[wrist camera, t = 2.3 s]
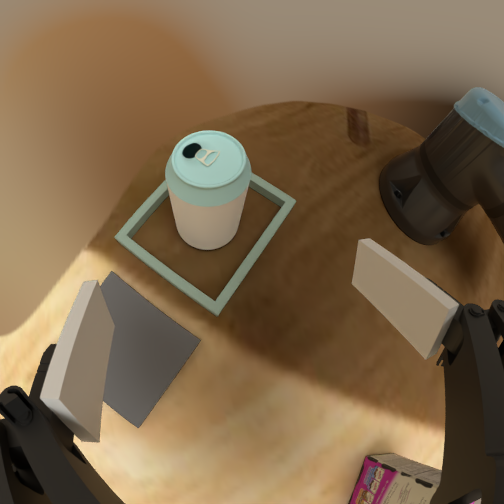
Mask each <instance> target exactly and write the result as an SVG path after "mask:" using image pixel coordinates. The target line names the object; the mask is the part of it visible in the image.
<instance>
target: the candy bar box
mask: <svg viewBox="0 0 504 504" xmlns="http://www.w3.org/2000/svg"><path fill="white" fill-rule="evenodd" d="M441 473H442V470H438V469H435V468H433V467H430V466H427V465H424V464H421V463H418V462H415V461H413V460H410V459H407V458H405V457H402V456H399V455H397V454H394V453H389V454H383V455H372V456H366V458H365V461H364V464H363V467H362V470H361V473H360V476H359V478H358V481H357V484H356V487H355V489H354V492H353V495H352V497H351V500H350V502H349V504H429V503H430V500H431V498H432V496H433V494H434V493H435V492H436V490H437V489H438V487H439V485H440V480H441ZM474 502H475V501H474ZM474 502H472V503H470V504H474Z"/></svg>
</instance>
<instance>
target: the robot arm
mask: <svg viewBox="0 0 504 504" xmlns="http://www.w3.org/2000/svg"><path fill="white" fill-rule="evenodd" d="M454 107H455V108H454V109H453V110H452V111H451V112H450V113H449V115H448V116H447V117H446V118H445V119H444V120H443V121H442V122H441V123H440V124H439V125H438V127H437V128H436V129H435V130H434V131H433V132H432V133H431V134H430V135H429V136H428V137H427V139H426V140H425V141H424V142H423V143H422V144H421V145H420V146H418V147H416V148H414V149H412V150H410V151H408V152H405V153H403V154H401V155H399V156H397V157H395V158H393V159H392V160H391V161H390V162H389V163H388V164H387V165H386V166H385V167H384V169H383V170H382V172H381V175H380V191H381V195H382V199H383V201H384V204H385V206H386V208H387V210H388V212H389V214H390V215H391V217H392V219H393V220H394V221H395V223H396V224H397V225H398V226H399V228H400V229H401V230H402V231H403V232H404V233H405V234H407V235H408V236H409V237H410V238H412V239H413V240H415V241H417V242H419V243H422V244H425V245H434V244H437V243H438V242H440V241H442V240H444V239H445V238H447V237H448V236H449V235H450V234H451V232H452V231H453V230H454V228H455V227H456V226H457V224H458V223H459V221H460V220H461V219H462V217H463V216H464V214H465V213H466V212H467V211H468V210H469V209H471V208H472V207H474V206H475V205H477V204H480V205H481V207H482V208H483V209H484V211H485V213H486V214H487V216H488V217H489V219H490V221H491V222H492V224H493V226H494V227H495V229H496V231H497V233H498V234H499V236H500V238H501V240H502V242H503V243H504V102H503V101H502V100H500V99H499V98H498V97H497V96H495V95H494V94H493V93H491V92H490V91H488V90H486V89H483V88H479V87H476V88H473V89H471V90H470V91H469V92H468V93H467V94H466V95H465V96H464V97H463V98H462V99H461V100H460V101H458V102H456V103H455V105H454ZM352 285H354V286H355V287H356V288H357V289H358V290H359V291H360V292H361V293H362V294H363V295H364V296H365V297H366V298H367V299H368V300H369V301H370V302H371V303H372V304H373V305H374V306H375V307H376V308H377V309H378V310H379V311H380V312H381V313H382V314H383V315H384V316H385V317H386V318H387V319H388V320H389V321H390V323H391V324H392V325H393V326H394V327H395V328H396V329H397V330H398V331H399V332H400V333H401V334H402V335H403V336H404V337H405V338H406V339H407V340H408V341H409V342H410V343H411V344H412V346H413V347H414V348H415V349H416V350H417V351H418V352H419V353H420V354H421V355H422V356H423V357H424V358H425V360H426V359H428V358H429V357H431V356H433V355H434V354H436V353H437V351H438V349H439V347H440V345H441V343H442V344H443V345H444V346H445V348H444V350H443V352H442V354H441V355H440V357H439V359H438V361H437V364H436V365H437V366H438V365H439V363H440V362H441V360H443V363H442V365H441V366H444V377H445V401H446V419H445V443H444V455H443V465H442V473H441V480H440V485H439V487H438V489H437V490H436V492H435V493H434V494H433V496H432V498H431V500H430V503H429V504H470V503H472V502H474V501H476V500H478V499H480V498H482V499H481V504H504V340H503V341H502V343H501V345H500V346H499V348H498V347H497V344H496V343H497V341H498V340H499V338H500V336H501V335H502V337H503V339H504V301H502V300H494V301H493V302H492V304H491V307H490V309H488V310H483V309H482V308H481V307H480V306H478V305H475V304H466V305H465V306H463V305H462V304H461V303H460V302H458V301H457V300H456V299H455V298H453V297H452V296H451V295H450V294H448V293H447V292H446V291H443V289H442V288H441V287H439V286H437V284H435V283H434V282H433V281H431V280H430V279H428V278H426V277H424V276H422V275H421V274H420V273H418V272H417V271H415V270H414V269H413V268H411V267H410V266H409V265H407V264H406V263H404V262H403V261H402V260H400V259H399V258H397V257H396V256H395V255H393V254H392V253H390V252H389V251H387V250H386V249H385V248H383V247H382V246H380V245H379V244H377V243H376V242H374V241H373V240H371V239H370V238H368V239H361V240H358V247H357V254H356V261H355V267H354V273H353V279H352ZM114 327H115V325H114V323H113V320H112V318H111V315H110V313H109V310H108V308H107V305H106V302H105V299H104V297H103V294H102V291H101V288H100V285H99V282H98V280H92V281H85V282H83V284H82V286H81V288H80V290H79V293H78V295H77V297H76V299H75V301H74V303H73V306H72V308H71V310H70V313H69V315H68V317H67V320H66V322H65V325H64V327H63V330H62V332H61V335H60V337H59V340H58V342H57V344H50V346H49V347H48V348H47V349H46V351H45V352H44V353H43V356H42V358H41V361H40V365H39V367H38V370H37V373H36V375H35V378H34V382H33V385H32V388H31V391H30V394H29V397H28V395H27V394H26V393H25V392H24V391H23V389H22V388H20V387H18V386H10V387H8V388H6V389H5V390H4V391H2V392H1V394H0V414H1V415H2V416H3V417H4V418H5V419H0V504H125V503H124V502H123V501H122V500H121V499H120V498H119V497H118V496H117V495H116V494H115V493H114V492H113V491H112V490H111V488H110V487H109V486H108V485H107V484H106V483H105V482H104V480H103V479H102V478H101V477H100V476H99V474H98V473H97V472H96V471H95V469H94V468H93V467H92V466H91V464H90V463H89V462H88V460H87V459H86V458H85V456H84V455H83V454H82V452H81V451H80V449H79V448H78V447H77V445H76V444H75V443H74V442H73V438H74V435H76V436H77V437H78V438H79V439H80V440H81V441H84V442H100V427H101V414H102V404H103V395H104V387H105V379H106V372H107V366H108V360H109V354H110V348H111V342H112V337H113V332H114Z"/></svg>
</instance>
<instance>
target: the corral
mask: <svg viewBox="0 0 504 504" xmlns="http://www.w3.org/2000/svg"><path fill="white" fill-rule="evenodd" d="M249 187H250V188H252V189H254V190H255V191H257V192H258V193H260V194H261V195H263V196H265V197H266V198H268V199H269V200H271V201H272V202H274V203H276V204H277V205H279V206H280V207H282V208H281V209H280V210H279V212H278V213H277V215H276V216H275V217H274V219H273V220H272V222H271V223H270V224H269V226H268V227H267V229H266V230H265V232H264V233H263V234H262V236H261V237H260V239H259V240H258V241H257V243H256V244H255V246H254V247H253V248H252V250H251V251H250V253H249V254H248V256H247V257H246V258H245V260H244V261H243V263H242V264H241V265H240V267H239V268H238V270H237V271H236V272H235V274H234V275H233V277H232V278H231V280H230V281H229V282H228V284H227V285H226V287H225V288H224V289H223V291H222V292H221V294H220V295H219V297H218V298H217V299H216V301H214V300H212V299H211V298H210V297H208V296H207V295H205V294H204V293H202V292H201V291H200V290H198V289H197V288H195V287H194V286H193V285H191V284H190V283H188V282H187V281H186V280H184V279H183V278H182V277H180V276H179V275H177V274H176V273H175V272H173V271H172V270H171V269H169V268H168V267H167V266H165V265H164V264H163V263H161V262H160V261H159V260H157V259H156V258H155V257H153V256H152V255H151V254H149V253H148V252H147V251H146V250H144V249H143V248H142V247H140V246H139V245H138V244H137V243H135V242H134V241H133V240H132V239H131V238H132V237H133V236H134V234H135V233H136V232H137V231H138V230H139V228H140V227H141V226H142V225H143V224H144V223H145V221H146V220H147V219H148V218H149V217H150V216H151V214H152V213H153V212H154V211H155V210H156V209H157V208H158V207H159V205H160V204H161V203H162V202H163V201H164V200H165V199H166V198H167V197H168V196H169V191H168V186H167V182H166V180H165V181H164V182H163V183H162V184H161V185H160V186H159V187H158V188H157V189H156V190H155V191H154V193H153V194H152V195H151V196H150V197H149V198H148V199H147V200H146V201H145V202H144V203H143V205H142V206H141V207H140V208H139V209H138V210H137V211H136V212H135V214H134V215H133V216H132V217H131V218H130V219H129V220H128V222H127V223H126V224H125V225H124V226H123V227H122V229H121V230H120V231H119V232H118V233H117V235H116V236H115V239H116V240H117V241H118V242H119V243H120V244H121V245H122V246H123V247H125V248H126V249H127V250H128V251H130V252H131V253H132V254H133V255H135V256H136V257H137V258H138V259H140V260H141V261H142V262H143V263H145V264H146V265H147V266H148V267H150V268H151V269H152V270H154V271H155V272H156V273H158V274H159V275H160V276H161V277H163V278H164V279H165V280H167V281H168V282H169V283H171V284H172V285H173V286H175V287H176V288H177V289H179V290H180V291H182V292H183V293H184V294H186V295H187V296H188V297H190V298H191V299H193V300H194V301H195V302H197V303H198V304H200V305H201V306H202V307H204V308H205V309H207V310H208V311H210V312H211V313H212V314H214V315H215V316H217V317H218V315H219V314H220V312H221V311H222V309H223V308H224V307H225V305H226V304H227V302H228V301H229V299H230V298H231V297H232V295H233V294H234V292H235V291H236V289H237V288H238V286H239V285H240V284H241V282H242V281H243V279H244V278H245V276H246V275H247V273H248V272H249V270H250V269H251V268H252V266H253V265H254V263H255V262H256V260H257V259H258V257H259V256H260V255H261V253H262V252H263V250H264V249H265V247H266V246H267V244H268V243H269V241H270V240H271V238H272V237H273V236H274V234H275V233H276V231H277V230H278V228H279V227H280V225H281V224H282V222H283V221H284V219H285V218H286V217H287V215H288V214H289V212H290V211H291V209H292V208H293V206H294V204H295V203H296V200H295V199H293V198H291V197H290V196H288V195H287V194H285V193H284V192H282V191H281V190H279V189H277V188H276V187H274V186H273V185H271V184H270V183H268V182H266V181H265V180H263V179H261V178H260V177H258V176H257V175H255V174H253V173H252V172H251V179H250V183H249Z"/></svg>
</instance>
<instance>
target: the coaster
mask: <svg viewBox="0 0 504 504" xmlns="http://www.w3.org/2000/svg"><path fill="white" fill-rule="evenodd" d="M100 288H101V291H102V294H103V297H104V299H105V302H106V305H107V308H108V310H109V313H110V315H111V318H112V320H113V323H114V325H115V327H114V332H113V337H112V342H111V348H110V354H109V360H108V366H107V372H106V379H105V387H104V395H103V401H104V402H105V403H106V404H107V405H109V406H110V407H111V408H112V409H114V410H115V411H116V412H117V413H119V414H120V415H121V416H122V417H124V418H125V419H126V420H128V421H129V422H130V423H132V424H133V425H134V426H136V427H137V428H139V427H140V426H141V424H142V423H143V422H144V420H145V419H146V417H147V416H148V415H149V413H150V412H151V410H152V409H153V408H154V406H155V405H156V403H157V402H158V401H159V399H160V398H161V396H162V395H163V393H164V392H165V391H166V389H167V388H168V386H169V385H170V384H171V382H172V381H173V379H174V378H175V377H176V375H177V374H178V372H179V371H180V369H181V368H182V367H183V365H184V364H185V362H186V361H187V360H188V358H189V357H190V355H191V354H192V352H193V351H194V350H195V348H196V347H197V345H198V344H199V342H200V341H201V340H200V339H198V338H197V337H195V336H194V335H193V334H191V333H190V332H188V331H187V330H186V329H184V328H183V327H181V326H180V325H179V324H177V323H176V322H175V321H173V320H172V319H171V318H169V317H168V316H167V315H165V314H164V313H163V312H161V311H160V310H159V309H157V308H156V307H155V306H154V305H152V304H151V303H150V302H148V301H147V300H146V299H145V298H143V297H142V296H141V295H140V294H138V293H137V292H136V291H135V290H134V289H132V288H131V287H130V286H129V285H128V284H126V283H125V282H124V281H123V280H122V279H120V278H119V277H118V276H117V275H116V274H115V273H114V272H112V271H111V273H110V274H109V275H108V277H107V278H106V279H105V281H104V282H103V283H102V285H101V286H100Z"/></svg>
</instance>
